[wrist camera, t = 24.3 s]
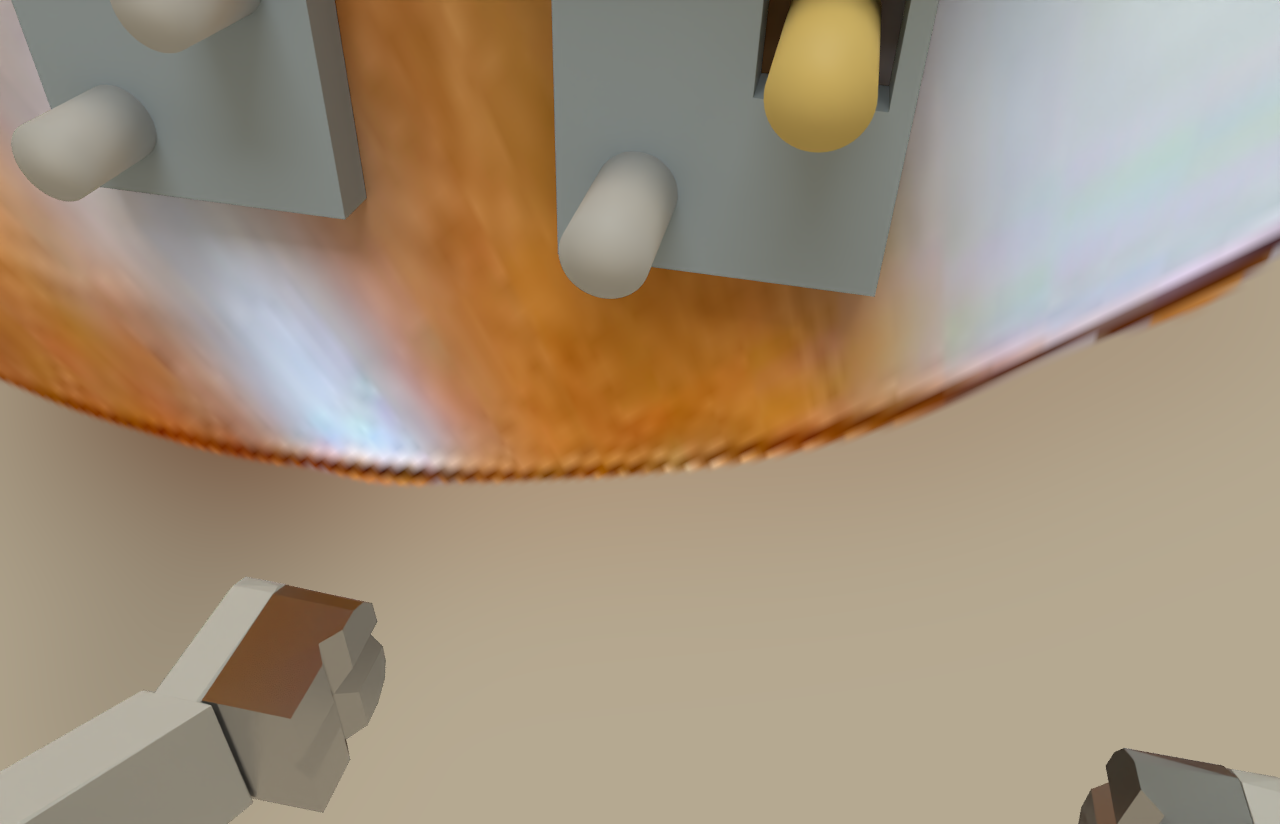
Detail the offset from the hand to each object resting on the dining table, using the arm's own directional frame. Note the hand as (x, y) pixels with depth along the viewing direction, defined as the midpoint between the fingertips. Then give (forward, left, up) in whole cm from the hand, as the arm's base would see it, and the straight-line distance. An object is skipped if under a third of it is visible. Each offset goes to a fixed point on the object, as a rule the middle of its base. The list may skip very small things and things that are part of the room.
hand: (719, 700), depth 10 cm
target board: (-3, -3, -27) cm, 27 cm away
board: (-24, -3, -27) cm, 36 cm away
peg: (0, 0, -27) cm, 27 cm away
